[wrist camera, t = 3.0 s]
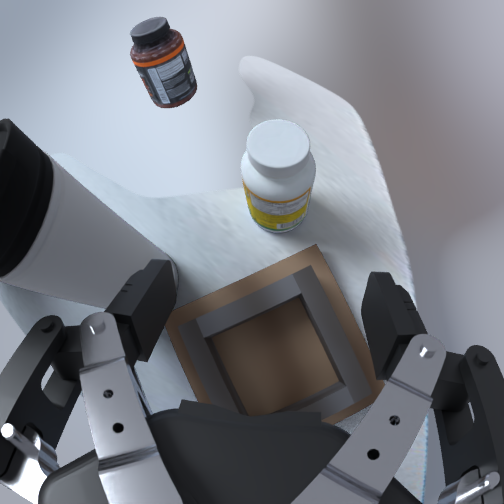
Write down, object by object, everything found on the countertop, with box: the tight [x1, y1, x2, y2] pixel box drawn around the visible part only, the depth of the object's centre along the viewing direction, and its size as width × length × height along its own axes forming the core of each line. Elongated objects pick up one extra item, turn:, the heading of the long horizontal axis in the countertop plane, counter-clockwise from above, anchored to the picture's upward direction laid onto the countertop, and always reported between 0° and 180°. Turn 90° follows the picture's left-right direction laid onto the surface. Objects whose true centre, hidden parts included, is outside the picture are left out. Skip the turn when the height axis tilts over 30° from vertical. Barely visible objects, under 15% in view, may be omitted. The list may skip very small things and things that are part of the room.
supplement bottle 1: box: [130, 17, 197, 108], centre depth 26 cm, size 6×6×11 cm
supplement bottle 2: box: [241, 119, 316, 233], centre depth 22 cm, size 5×5×10 cm
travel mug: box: [0, 119, 178, 309], centre depth 16 cm, size 6×7×20 cm
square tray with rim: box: [165, 244, 385, 425], centre depth 21 cm, size 14×14×4 cm
